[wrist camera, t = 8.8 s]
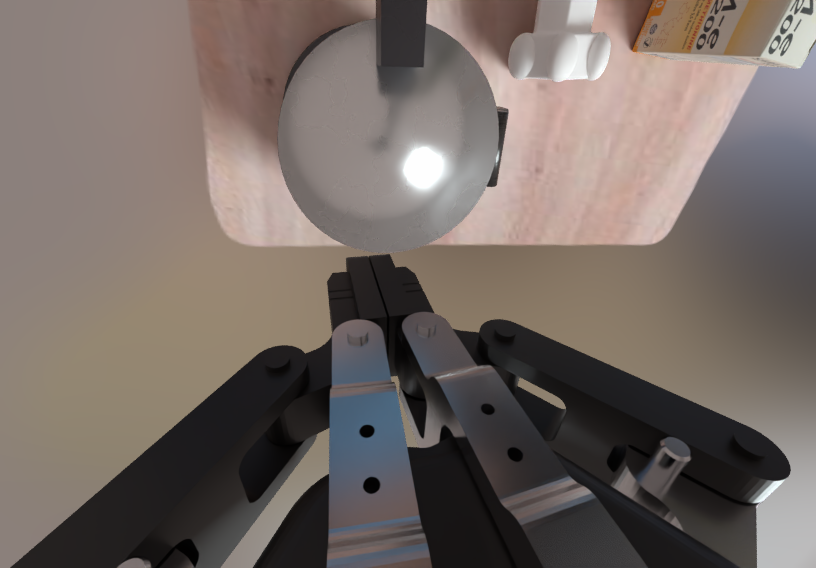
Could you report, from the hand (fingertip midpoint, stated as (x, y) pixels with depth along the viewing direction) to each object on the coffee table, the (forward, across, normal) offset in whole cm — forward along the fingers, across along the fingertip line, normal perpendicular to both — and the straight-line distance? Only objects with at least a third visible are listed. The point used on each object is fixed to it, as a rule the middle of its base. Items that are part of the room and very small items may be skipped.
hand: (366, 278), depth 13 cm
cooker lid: (+15, -4, -4) cm, 16 cm away
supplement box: (+26, -33, -11) cm, 44 cm away
